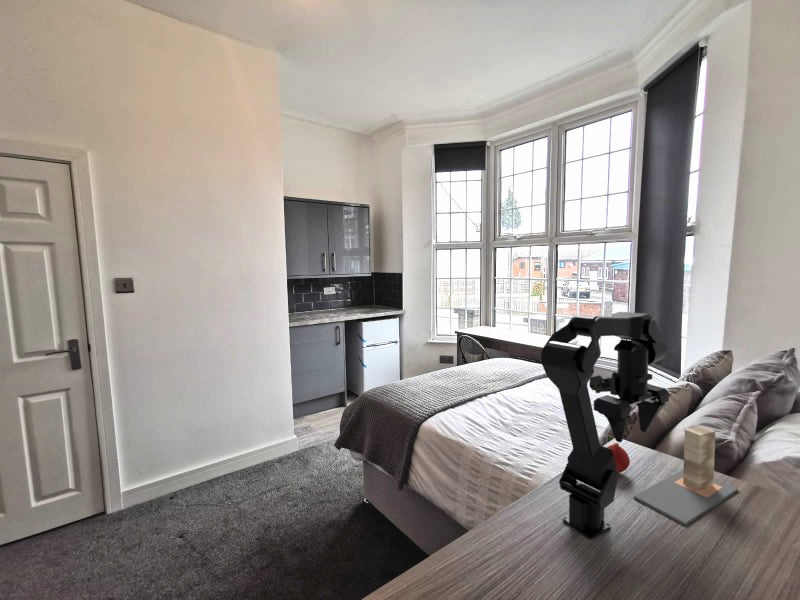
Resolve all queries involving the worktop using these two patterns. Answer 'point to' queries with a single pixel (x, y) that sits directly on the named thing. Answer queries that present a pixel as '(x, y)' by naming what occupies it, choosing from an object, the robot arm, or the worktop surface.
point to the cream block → (699, 457)
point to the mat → (684, 498)
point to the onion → (620, 457)
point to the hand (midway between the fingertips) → (631, 436)
